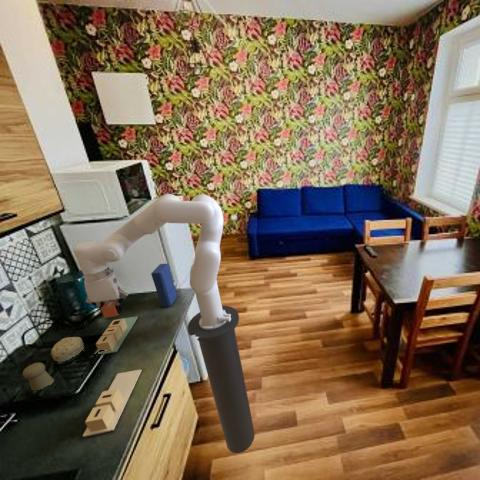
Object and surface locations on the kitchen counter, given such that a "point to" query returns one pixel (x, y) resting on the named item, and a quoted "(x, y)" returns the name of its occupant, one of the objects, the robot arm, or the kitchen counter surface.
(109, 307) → the letter block
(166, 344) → the kitchen counter surface
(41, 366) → the cork
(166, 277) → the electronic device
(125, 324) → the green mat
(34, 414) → the kitchen counter surface
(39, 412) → the kitchen counter surface
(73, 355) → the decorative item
